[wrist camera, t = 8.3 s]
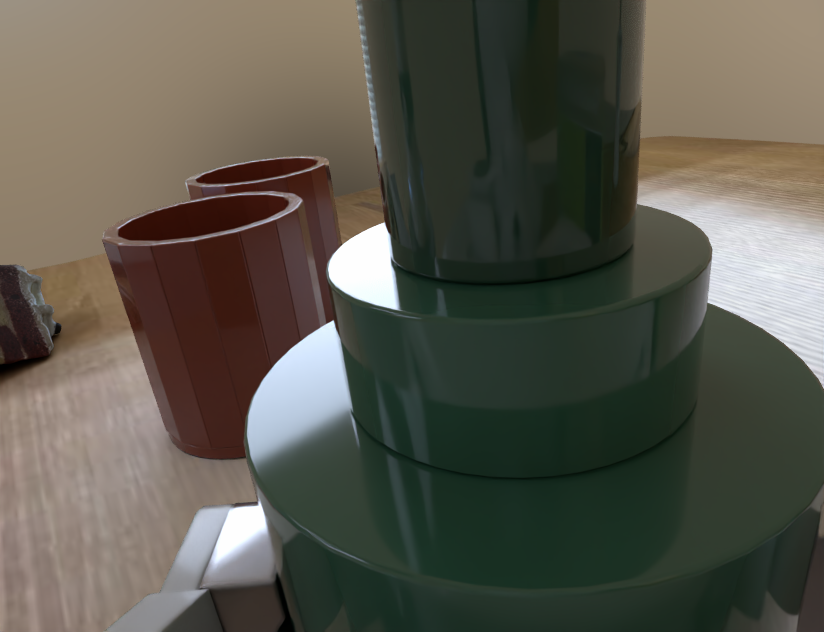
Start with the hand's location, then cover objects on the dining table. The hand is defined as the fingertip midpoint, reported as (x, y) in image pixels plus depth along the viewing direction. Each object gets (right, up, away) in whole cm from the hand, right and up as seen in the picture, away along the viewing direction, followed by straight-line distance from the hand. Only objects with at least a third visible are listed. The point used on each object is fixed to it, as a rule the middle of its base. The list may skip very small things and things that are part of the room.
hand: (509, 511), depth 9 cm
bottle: (+1, -8, +3) cm, 9 cm away
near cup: (-9, -2, +21) cm, 23 cm away
